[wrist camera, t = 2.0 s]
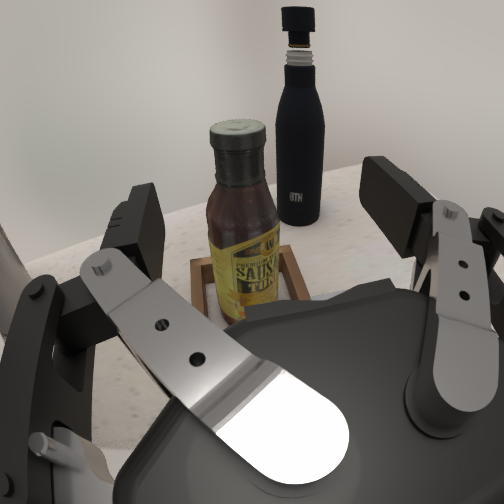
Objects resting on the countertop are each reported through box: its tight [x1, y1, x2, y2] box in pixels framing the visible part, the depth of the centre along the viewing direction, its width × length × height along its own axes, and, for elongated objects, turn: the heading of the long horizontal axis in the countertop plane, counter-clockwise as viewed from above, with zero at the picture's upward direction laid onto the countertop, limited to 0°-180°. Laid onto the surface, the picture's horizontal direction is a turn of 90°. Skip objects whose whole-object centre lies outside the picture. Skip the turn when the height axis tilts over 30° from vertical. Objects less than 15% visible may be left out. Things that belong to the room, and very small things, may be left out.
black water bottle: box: [275, 6, 325, 226], centre depth 36 cm, size 6×6×30 cm
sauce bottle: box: [206, 119, 280, 324], centre depth 27 cm, size 7×6×20 cm
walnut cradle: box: [190, 245, 311, 318], centre depth 33 cm, size 12×11×3 cm
